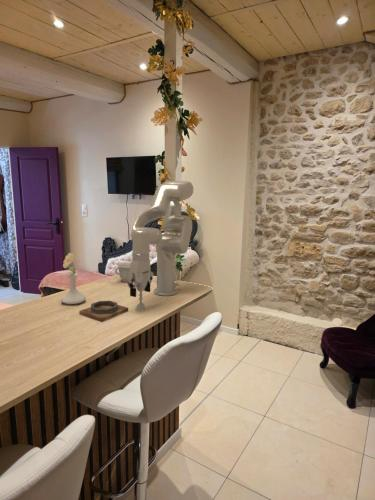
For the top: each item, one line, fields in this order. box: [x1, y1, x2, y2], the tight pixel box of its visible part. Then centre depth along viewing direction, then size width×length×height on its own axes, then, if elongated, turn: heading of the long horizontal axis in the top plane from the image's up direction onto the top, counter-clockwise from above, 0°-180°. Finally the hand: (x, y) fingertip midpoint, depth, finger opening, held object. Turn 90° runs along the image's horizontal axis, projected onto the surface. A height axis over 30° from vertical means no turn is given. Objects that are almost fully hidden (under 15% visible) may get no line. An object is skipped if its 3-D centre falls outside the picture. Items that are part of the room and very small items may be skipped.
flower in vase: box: [60, 252, 87, 305], centre depth 158 cm, size 13×11×25 cm
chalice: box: [134, 272, 148, 312], centre depth 152 cm, size 7×7×18 cm
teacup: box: [114, 262, 131, 283], centre depth 197 cm, size 12×15×10 cm
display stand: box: [78, 300, 129, 323], centre depth 148 cm, size 16×14×4 cm
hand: (140, 293), depth 152 cm, fingers open, 9 cm apart
